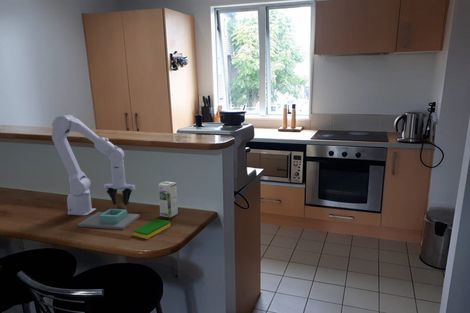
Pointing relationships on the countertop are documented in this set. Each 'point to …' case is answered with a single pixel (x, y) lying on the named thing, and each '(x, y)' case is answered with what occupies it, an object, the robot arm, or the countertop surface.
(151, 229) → the dish sponge
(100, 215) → the socket stand
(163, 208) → the syrup box
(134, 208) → the countertop surface
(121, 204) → the walnut peg
